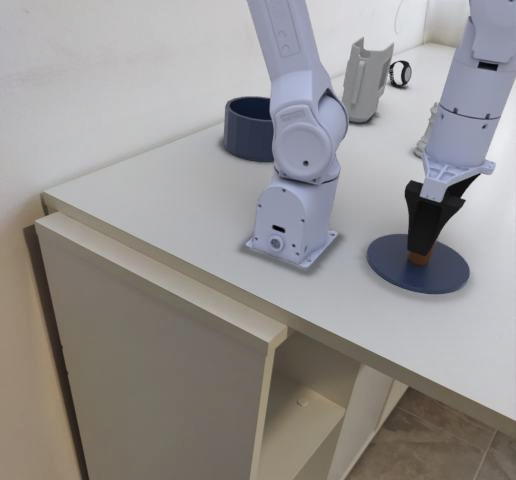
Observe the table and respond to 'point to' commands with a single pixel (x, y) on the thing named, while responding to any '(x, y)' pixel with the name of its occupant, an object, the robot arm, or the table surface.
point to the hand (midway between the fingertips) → (426, 236)
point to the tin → (249, 128)
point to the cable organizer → (365, 80)
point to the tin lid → (418, 265)
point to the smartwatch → (404, 74)
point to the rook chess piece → (426, 132)
